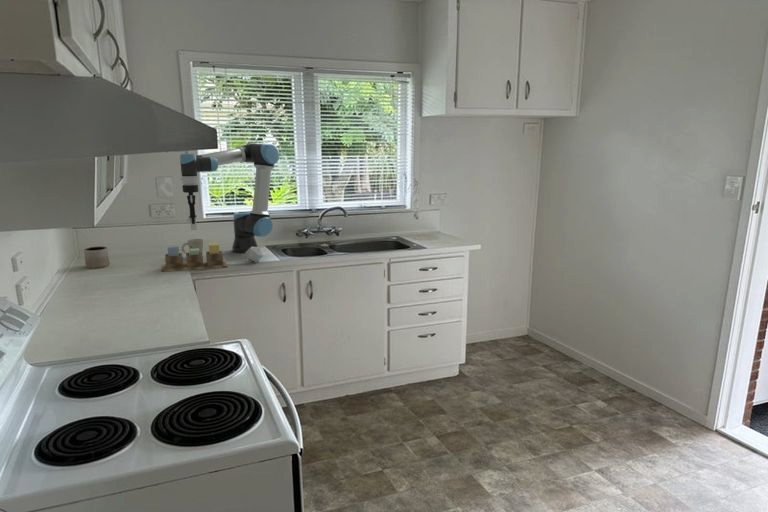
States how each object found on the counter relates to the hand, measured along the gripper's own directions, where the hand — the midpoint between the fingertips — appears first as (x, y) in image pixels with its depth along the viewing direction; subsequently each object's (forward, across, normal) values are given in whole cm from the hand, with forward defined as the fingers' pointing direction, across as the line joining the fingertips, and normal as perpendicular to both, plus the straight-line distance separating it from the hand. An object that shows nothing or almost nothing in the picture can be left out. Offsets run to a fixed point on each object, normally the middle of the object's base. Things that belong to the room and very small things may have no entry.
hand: (193, 229), depth 266 cm
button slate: (+15, +1, -11) cm, 18 cm away
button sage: (+17, +1, -1) cm, 17 cm away
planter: (+20, -15, -49) cm, 55 cm away
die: (+20, -2, +30) cm, 36 cm away
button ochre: (+15, +1, +9) cm, 18 cm away
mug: (+20, -22, -2) cm, 30 cm away
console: (+20, +1, -1) cm, 20 cm away
